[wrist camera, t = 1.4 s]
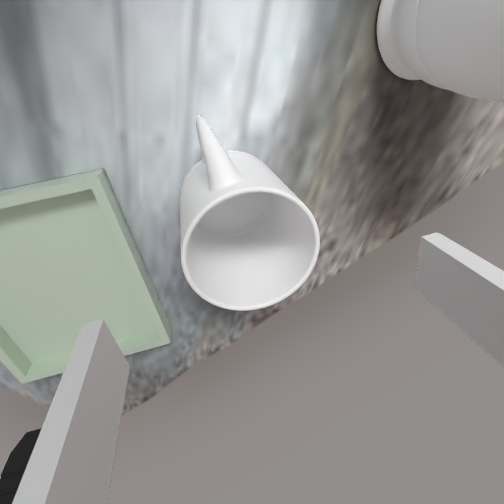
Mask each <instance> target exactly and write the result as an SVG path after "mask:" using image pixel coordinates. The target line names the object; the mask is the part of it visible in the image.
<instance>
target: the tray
mask: <svg viewBox="0 0 504 504" xmlns="http://www.w3.org/2000/svg"><path fill="white" fill-rule="evenodd" d="M102 319H104V321H105V323H106V325H107V326H108V328H109V330H110V332H111V333H112V335H113V337H114V339H115V341H116V342H117V344H118V346H119V348H120V349H121V351H122V353H123V355H124V356H126V355H130V354H133V353H137V352H140V351H144V350H148V349H151V348H155V347H159V346H162V345H166V344H170V343H171V326H170V324H169V322H168V319H167V317H166V314H165V312H164V310H163V307H162V305H161V303H160V300H159V298H158V295H157V293H156V291H155V288H154V286H153V284H152V281H151V279H150V276H149V274H148V272H147V269H146V267H145V265H144V262H143V260H142V257H141V255H140V253H139V250H138V248H137V246H136V243H135V241H134V239H133V236H132V234H131V231H130V229H129V227H128V224H127V222H126V220H125V217H124V215H123V212H122V210H121V208H120V205H119V203H118V201H117V198H116V196H115V193H114V191H113V189H112V186H111V184H110V182H109V179H108V177H107V174H106V172H105V170H104V168H103V169H99V170H94V171H89V172H85V173H80V174H75V175H71V176H66V177H61V178H57V179H52V180H47V181H43V182H38V183H33V184H29V185H24V186H19V187H15V188H10V189H5V190H1V191H0V361H1V362H2V363H3V364H4V365H5V366H6V367H7V368H8V369H9V370H10V372H11V373H12V374H13V375H14V376H15V377H16V378H17V379H18V380H19V381H20V383H21V384H24V383H27V382H31V381H35V380H38V379H42V378H45V377H49V376H53V375H56V374H60V373H64V371H65V368H66V365H67V363H68V360H69V358H70V355H71V353H72V350H73V348H74V345H75V343H76V340H77V338H78V335H79V332H80V330H81V327H82V325H83V324H86V323H90V322H94V321H98V320H102Z"/></svg>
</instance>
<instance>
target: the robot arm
mask: <svg viewBox="0 0 504 504" xmlns="http://www.w3.org/2000/svg"><path fill="white" fill-rule="evenodd" d="M414 289H415V290H417V291H418V292H419V293H420V294H421V295H422V296H423V297H424V298H425V299H427V300H428V301H429V302H430V303H431V304H432V305H433V306H434V307H436V308H437V309H438V310H439V311H440V312H441V313H443V315H444V316H446V317H447V318H448V319H449V320H450V321H451V322H452V323H453V324H455V325H456V326H457V327H458V328H459V329H460V330H461V331H462V332H464V333H465V334H466V335H467V336H468V337H469V338H470V339H471V340H473V341H474V342H475V343H476V344H477V345H478V346H479V347H480V348H482V349H483V350H484V351H485V352H486V353H487V354H488V355H489V356H491V357H492V358H493V359H494V360H495V361H496V362H497V363H498V364H499V365H501V366H502V367H503V368H504V271H502V270H501V269H499V268H497V267H496V266H494V265H492V264H491V263H489V262H487V261H486V260H484V259H482V258H480V257H479V256H477V255H475V254H474V253H472V252H470V251H468V250H467V249H465V248H463V247H462V246H460V245H458V244H457V243H455V242H453V241H452V240H450V239H448V238H447V237H445V236H443V235H442V234H440V233H433V234H429V235H426V236H422V237H421V242H420V249H419V256H418V263H417V270H416V277H415V283H414ZM129 370H130V365H129V363H128V362H127V360H126V358H125V356H124V355H123V353H122V351H121V349H120V348H119V346H118V344H117V342H116V341H115V339H114V337H113V335H112V333H111V332H110V330H109V328H108V326H107V325H106V323H105V321H104V319H102V320H98V321H94V322H90V323H86V324H83V325H82V327H81V330H80V332H79V335H78V338H77V340H76V343H75V345H74V348H73V350H72V353H71V355H70V358H69V360H68V363H67V365H66V368H65V371H64V373H63V376H62V378H61V381H60V383H59V386H58V388H57V391H56V393H55V396H54V398H53V401H52V404H51V406H50V409H49V411H48V414H47V416H46V419H45V421H44V424H43V426H42V428H41V429H38V430H34V431H31V432H27V433H26V434H25V435H24V436H23V438H22V439H21V440H20V442H19V443H18V444H17V446H16V447H15V448H14V450H13V451H12V452H11V454H10V456H9V458H8V460H7V462H6V465H5V467H4V469H3V472H2V474H1V479H0V504H107V499H108V493H109V486H110V481H111V475H112V469H113V464H114V458H115V452H116V446H117V440H118V434H119V429H120V422H121V417H122V411H123V405H124V399H125V394H126V388H127V382H128V376H129Z"/></svg>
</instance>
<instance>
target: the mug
mask: <svg viewBox="0 0 504 504" xmlns="http://www.w3.org/2000/svg"><path fill="white" fill-rule="evenodd" d="M196 126H197V133H198V139H199V144H200V150H201V156H202V159H201V160H200V161H199V162H197V163H196V164H195V165H194V166H193V167H192V168H191V170H190V171H189V172H188V174H187V176H186V178H185V179H184V182H183V185H182V188H181V194H180V241H181V264H182V269H183V273H184V275H185V277H186V280H187V281H188V283H189V285H190V286H191V287H192V289H193V290H194V291H195V292H196V293H197V294H198V295H199V296H200V297H202V298H203V299H204V300H206V301H207V302H209V303H211V304H213V305H215V306H218V307H221V308H224V309H229V310H236V311H249V310H257V309H261V308H265V307H268V306H271V305H273V304H276V303H278V302H280V301H282V300H283V299H285V298H287V297H288V296H290V295H291V294H292V293H294V292H295V291H296V290H297V289H298V288H299V287H300V286H301V285H302V284H303V283H304V282H305V280H306V279H307V278H308V277H309V275H310V273H311V272H312V270H313V268H314V266H315V263H316V261H317V257H318V253H319V246H320V237H319V230H318V227H317V223H316V221H315V219H314V217H313V215H312V213H311V212H310V210H309V209H308V208H307V207H306V206H305V205H304V204H303V203H302V201H301V200H300V199H299V198H298V197H297V196H296V195H295V194H294V193H293V192H292V191H291V190H290V189H289V188H288V187H287V186H286V185H285V184H284V183H283V182H282V181H281V180H280V179H279V178H278V177H277V176H276V175H275V174H274V173H273V172H272V171H271V170H270V169H269V168H268V167H267V166H266V165H265V164H264V163H263V162H261V161H260V160H259V159H257V158H256V157H254V156H252V155H250V154H248V153H245V152H241V151H234V150H225V149H224V147H223V145H222V144H221V142H220V140H219V139H218V137H217V136H216V134H215V133H214V131H213V130H212V128H211V127H210V125H209V124H208V123H207V121H206V120H205V119H204V118H203V117H202V116H201V115H198V116H197V117H196Z"/></svg>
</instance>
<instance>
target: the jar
mask: <svg viewBox="0 0 504 504" xmlns="http://www.w3.org/2000/svg"><path fill="white" fill-rule="evenodd" d="M377 41H378V47H379V51H380V54H381V57H382V59H383V61H384V63H385V64H386V66H387V67H388V68H389V70H390V71H391V72H393V73H394V74H395V75H397V76H398V77H400V78H403V79H407V80H420V79H421V80H422V81H424V82H426V83H428V84H430V85H433V86H436V87H439V88H442V89H446V90H450V91H453V92H455V93H458V94H461V95H464V96H468V97H472V98H476V99H482V100H488V101H498V102H504V0H381V4H380V7H379V12H378V19H377Z"/></svg>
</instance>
